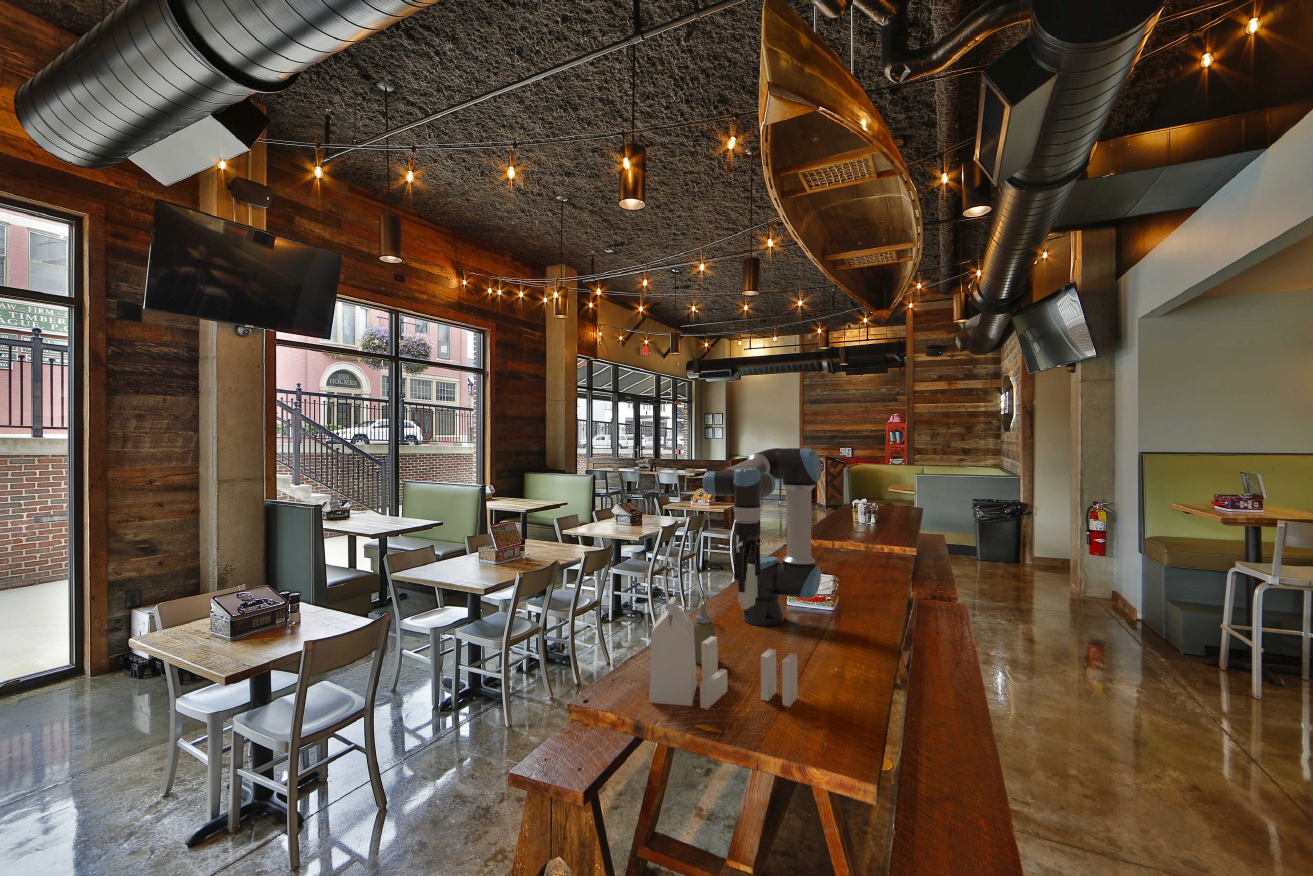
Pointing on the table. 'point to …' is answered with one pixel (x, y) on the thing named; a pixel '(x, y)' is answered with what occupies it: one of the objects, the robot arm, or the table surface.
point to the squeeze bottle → (702, 632)
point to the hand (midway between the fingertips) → (747, 599)
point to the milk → (673, 658)
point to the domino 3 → (750, 587)
